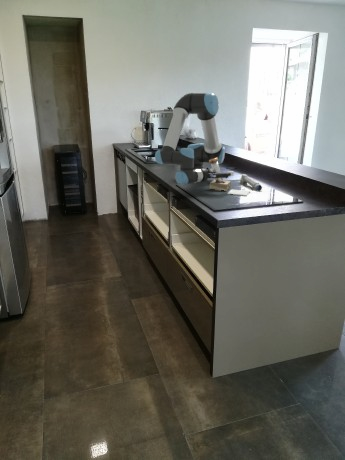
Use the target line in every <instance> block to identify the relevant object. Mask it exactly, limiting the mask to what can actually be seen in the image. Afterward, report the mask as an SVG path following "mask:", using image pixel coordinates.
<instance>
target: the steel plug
mask: <svg viewBox="0 0 345 460" xmlns="http://www.w3.org/2000/svg"><path fill="white" fill-rule="evenodd" d="M217 160H218V158H214V159H211V160H209V163H208V164H210V166H211V169H212V170H213V172H217V173H222V172H221V168H220V164H218V161H217ZM213 174H214V173H213ZM223 179H224V178H214V180H215V181H216V183H224V182H223V181H224V180H223Z"/></svg>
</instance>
